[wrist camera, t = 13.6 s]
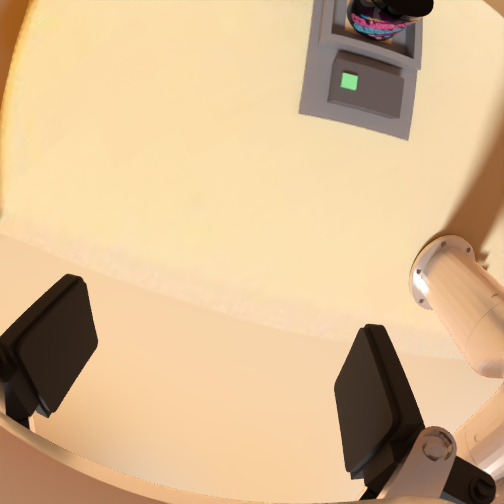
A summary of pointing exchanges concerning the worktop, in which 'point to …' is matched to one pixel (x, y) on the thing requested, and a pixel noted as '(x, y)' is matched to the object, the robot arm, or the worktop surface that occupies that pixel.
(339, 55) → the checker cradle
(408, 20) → the supplement container
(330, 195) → the worktop surface
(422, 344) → the worktop surface
